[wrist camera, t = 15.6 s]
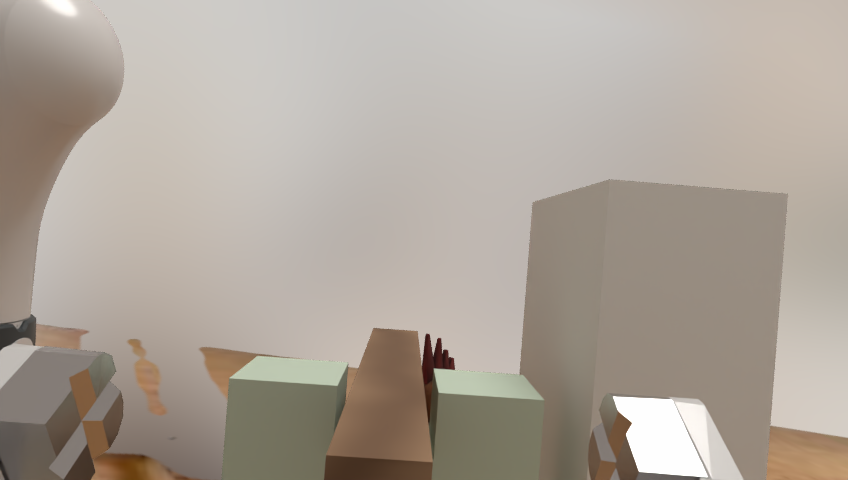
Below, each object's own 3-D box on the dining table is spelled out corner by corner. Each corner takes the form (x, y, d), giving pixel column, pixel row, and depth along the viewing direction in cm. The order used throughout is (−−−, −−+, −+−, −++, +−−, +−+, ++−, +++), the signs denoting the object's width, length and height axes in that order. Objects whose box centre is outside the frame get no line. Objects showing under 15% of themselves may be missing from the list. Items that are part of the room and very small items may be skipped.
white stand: (564, 769, 26) (609, 179, 26) (504, 568, 42) (532, 202, 42) (743, 779, 26) (787, 194, 26) (616, 575, 42) (644, 211, 42)
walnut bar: (316, 580, 17) (325, 455, 17) (369, 379, 41) (373, 327, 41) (423, 586, 17) (432, 462, 17) (413, 382, 41) (417, 331, 41)
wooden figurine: (406, 528, 47) (420, 338, 47) (380, 497, 52) (393, 326, 52) (480, 517, 50) (494, 338, 50) (448, 489, 55) (461, 327, 55)
